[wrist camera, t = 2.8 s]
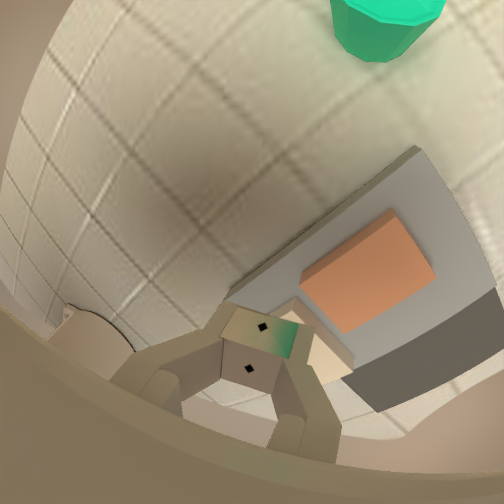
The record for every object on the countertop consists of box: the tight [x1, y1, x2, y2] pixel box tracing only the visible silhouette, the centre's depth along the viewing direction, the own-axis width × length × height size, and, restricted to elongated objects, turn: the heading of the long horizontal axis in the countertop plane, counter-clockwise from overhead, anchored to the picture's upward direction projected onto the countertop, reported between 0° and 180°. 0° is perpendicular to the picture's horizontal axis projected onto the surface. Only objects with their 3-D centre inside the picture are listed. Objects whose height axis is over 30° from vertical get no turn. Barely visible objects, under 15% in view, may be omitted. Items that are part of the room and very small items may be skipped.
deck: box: [222, 145, 497, 370], centre depth 25 cm, size 22×14×2 cm, turn 136°
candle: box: [330, 0, 446, 63], centre depth 11 cm, size 6×6×12 cm
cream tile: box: [268, 297, 354, 385], centre depth 27 cm, size 9×6×2 cm, turn 46°
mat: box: [340, 287, 504, 413], centre depth 27 cm, size 20×11×1 cm, turn 136°
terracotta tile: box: [299, 208, 437, 334], centre depth 22 cm, size 9×6×2 cm, turn 136°
